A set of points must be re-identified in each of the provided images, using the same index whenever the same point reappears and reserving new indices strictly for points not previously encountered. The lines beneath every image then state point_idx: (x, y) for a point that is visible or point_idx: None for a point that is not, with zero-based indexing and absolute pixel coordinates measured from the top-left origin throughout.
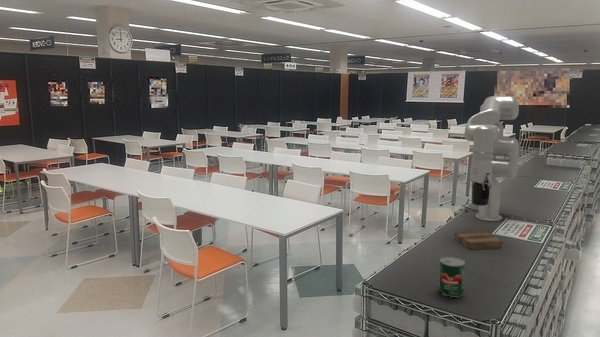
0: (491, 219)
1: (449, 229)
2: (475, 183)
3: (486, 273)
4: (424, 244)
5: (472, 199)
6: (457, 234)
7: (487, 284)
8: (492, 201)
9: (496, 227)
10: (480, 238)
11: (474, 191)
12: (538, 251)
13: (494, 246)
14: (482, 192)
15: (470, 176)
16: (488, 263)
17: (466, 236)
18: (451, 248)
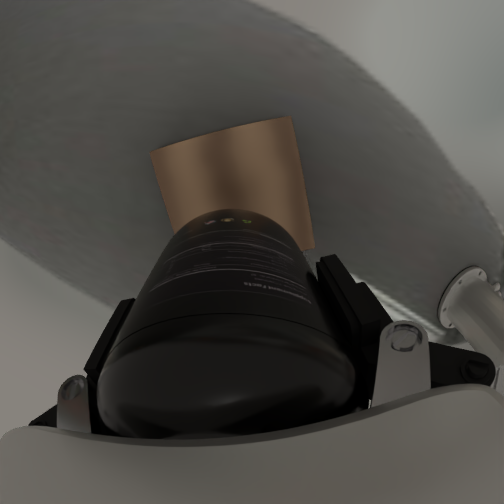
0: (444, 301)
1: (397, 136)
2: (156, 407)
3: (13, 174)
4: (210, 2)
5: (211, 221)
6: (266, 120)
7: None
8: (478, 334)
9: (397, 300)
10: (215, 205)
11: (158, 283)
12: None
13: None
14: (100, 352)
15: (488, 454)
16: (61, 189)
17: (236, 152)
18: (169, 85)
